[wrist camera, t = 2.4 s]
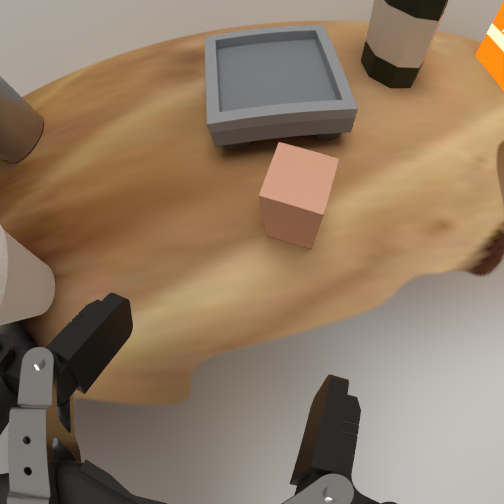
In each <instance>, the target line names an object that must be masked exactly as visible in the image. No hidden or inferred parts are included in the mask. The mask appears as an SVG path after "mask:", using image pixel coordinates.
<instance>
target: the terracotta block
mask: <svg viewBox="0 0 504 504" xmlns="http://www.w3.org/2000/svg"><path fill="white" fill-rule="evenodd" d="M338 160H339V159H337V158H334V157H331V156H328V155H324V154H321V153H317V152H314V151H310V150H307V149H303V148H300V147H296V146H292V145H288V144H285V143H281V142H279V143H278V145H277V148H276V151H275V153H274V156H273V159H272V162H271V164H270V167H269V170H268V172H267V175H266V178H265V180H264V183H263V186H262V189H261V191H260V194H259V199H260V204H261V209H262V215H263V220H264V226H265V231H266V235H267V236H270V237H274V238H277V239H280V240H283V241H286V242H289V243H293V244H296V245H299V246H302V247H305V248H308V249H311V248H312V245H313V242H314V240H315V237H316V234H317V231H318V229H319V226H320V223H321V220H322V218H323V215H324V211H325V208H326V204H327V201H328V197H329V194H330V190H331V186H332V183H333V179H334V175H335V172H336V168H337V164H338Z"/></svg>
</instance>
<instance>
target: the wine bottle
mask: <svg viewBox="0 0 504 504" xmlns="http://www.w3.org/2000/svg"><path fill="white" fill-rule="evenodd" d="M447 2H448V0H374V5H373V9H372V14H371V19H370V24H369V28H368V33H367V37H366V42H365V46H364V50H363V55H362V59H361V62H362V64H363V66H364V68H365V70H366V71H367V73H368V75H369V77H371V78H373V79H375V80H377V81H378V82H380V83H382V84H384V85H386V86H388V87H389V88H410V87H411V86H412V84H413V82H414V80H415V79H416V77H417V75H418V72H419V70H420V68H421V66H422V63H423V61H424V59H425V57H426V54H427V52H428V50H429V47H430V45H431V42H432V40H433V38H434V35H435V33H436V30H437V28H438V25H439V23H440V20H441V18H442V15H443V13H444V10H445V8H446V5H447Z"/></svg>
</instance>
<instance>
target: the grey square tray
mask: <svg viewBox="0 0 504 504" xmlns="http://www.w3.org/2000/svg"><path fill="white" fill-rule="evenodd" d="M205 71H206V109H207V126H208V128H209V131H210V133H211V136H212V139H213V141H214V144H215V147H216V146H223V147H224V148H226V149H229V150H240V149H243V148H245V147H247V146H248V145H249V144H250V141H257V140H265V139H274V138H283V137H293V136H303V135H315V136H316V138H318V139H320V140H331V139H335V138H337V137H338V136H340V135H341V133H344V132H351V130H352V126H353V123H354V120H355V117H356V113H357V110H358V108H357V105H356V103H355V100H354V97H353V94H352V92H351V89H350V86H349V84H348V81H347V79H346V76H345V74H344V71H343V69H342V66H341V64H340V61H339V59H338V57H337V54H336V52H335V50H334V47H333V45H332V43H331V41H330V38H329V36H328V34H327V32H326V30H325V28H324V25H298V26H282V27H270V28H260V29H251V30H243V31H236V32H229V33H223V34H217V35H211V36H206V37H205Z"/></svg>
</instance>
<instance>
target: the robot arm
mask: <svg viewBox="0 0 504 504" xmlns="http://www.w3.org/2000/svg"><path fill="white" fill-rule="evenodd" d="M43 125H44V121H43V118H42V117H41V116H40V115H39V114H38V113H37V112H36V111H35V110H34V109H33V108H32V107H31V106H30V105H29V104H28V103H27V102H26V101H25V100H24V99H23V98H22V97H21V96H20V95H19V94H18V93H17V92H16V91H15V90H14V89H13V88H12V87H11V86H10V85H9V84H8V83H7V82H6V81H5V80H4V79H3V78H2V77H1V76H0V159H1V160H3V161H5V160H7V161H9V162H11V163H15V162H18V161H20V160H21V159H23V158H24V157H25V156H26V155H27V154H28V153H29V152H30V151H31V150H32V149H33V147H34V146H35V144H36V143H37V141H38V139H39V137H40V135H41V133H42V130H43ZM132 329H133V322H132V315H131V308H130V302H129V300H128V299H126V298H124V297H121V296H119V295H117V294H115V293H110V294H108V295H107V296H106V297H105V298H104V299H103V300H102V301H100V300H96V301H94V302H92V303H90V304H88V305H86V306H85V307H84V308H83V309H82V310H81V311H80V312H79V313H78V316H76V317H75V318H74V319H73V320H72V322H70V323H69V324H68V325H67V326H66V327H65V328H64V329H63V330H62V331H61V332H60V333H59V334H58V335H57V336H56V337H55V338H54V339H53V340H52V341H51V342H50V344H48V345H47V346H46V347H45V348H43V347H36V348H33V349H31V350H29V351H28V350H25V349H22V348H18V347H15V346H12V344H11V342H10V341H9V339H8V338H7V337H6V336H5V335H1V334H0V379H1V380H0V435H1V433H2V431H3V430H4V429H5V427H6V426H7V424H8V423H9V441H8V442H9V443H8V445H9V446H8V447H9V449H8V450H9V451H8V454H9V455H8V457H9V473H5V474H0V504H166V503H163V502H159V501H154V500H150V499H146V498H142V497H138V496H135V495H132V494H131V493H130V492H129V491H128V490H126V489H125V488H124V487H123V486H122V485H121V484H119V482H118V481H116V480H115V479H114V478H113V477H112V476H111V475H110V474H109V473H107V472H105V471H104V470H102V469H100V468H99V467H97V466H95V465H94V464H92V463H91V462H89V461H88V460H85V462H84V463H82V462H81V456H80V450H79V446H78V443H77V441H76V437H75V428H74V409H73V393H74V391H75V390H76V389H77V390H79V391H81V392H82V393H84V394H85V393H86V392H87V391H88V389H89V388H90V387H91V385H92V384H93V383H94V381H95V380H96V379H97V378H98V376H99V375H100V374H101V372H102V371H103V370H104V369H105V367H106V366H107V365H108V364H109V362H110V361H111V360H112V358H113V357H114V356H115V355H116V353H117V352H118V351H119V350H120V348H121V347H122V346H123V345H124V343H125V342H126V341H127V340H128V338H129V337H130V335H131V332H132ZM348 386H349V380H348V379H344V378H340V377H337V376H333V375H328V376H327V378H326V380H325V381H324V383H323V384H322V386H321V387H320V389H319V391H318V392H317V394H316V395H315V398H314V400H313V402H312V405H311V408H310V412H309V417H308V420H307V424H306V428H305V432H304V436H303V439H302V443H301V447H300V450H299V454H298V458H297V461H296V464H295V468H294V471H293V474H292V478H291V481H290V484H292V485H296V486H297V488H296V492H295V495H294V496H293V497H291V498H290V499H288V500H287V501H285V502H284V503H282V504H380V503H378V502H376V501H374V500H372V499H370V498H368V497H366V496H364V495H362V494H361V493H359V492H358V491H357V490H356V488H355V487H354V485H353V482H352V478H351V473H352V467H353V461H354V455H355V449H356V442H357V434H358V428H359V426H358V425H359V421H360V413H361V409H360V406H359V402H358V399H357V397H354V396H350V395H347V393H348ZM381 504H397V503H394V502H384V503H381Z"/></svg>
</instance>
